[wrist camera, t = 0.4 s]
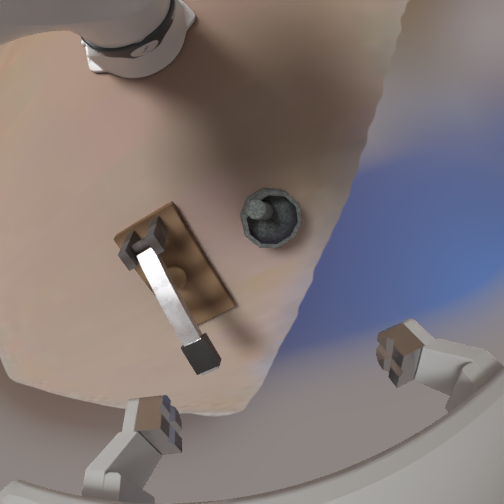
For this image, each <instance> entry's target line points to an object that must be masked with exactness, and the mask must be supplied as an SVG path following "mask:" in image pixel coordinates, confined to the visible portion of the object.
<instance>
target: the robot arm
mask: <svg viewBox="0 0 504 504" xmlns="http://www.w3.org/2000/svg"><path fill="white" fill-rule="evenodd" d="M194 20H195V14H194V12H193V11H192V10H191V9H190V8H189V7H188V6H187V5H186V4H185V3H184V2H183V1H182V0H0V45H2V44H5V43H7V42H9V41H12V40H15V39H18V38H21V37H25V36H28V35H32V34H37V33H43V32H49V31H62V30H66V31H72V32H74V33H76V34H78V35H80V36H81V38H82V40H81V44H82V46H83V47H85V49H86V54H87V60H88V64H89V68H90V70H91V71H92V72H95V73H101V72H109V73H112V74H115V75H117V76H120V77H124V78H140V77H145V76H149V75H151V74H154V73H156V72H158V71H160V70H162V69H163V68H165V67H166V66H167V65H168V64H170V63H171V62H172V61H173V60H174V59H175V57H176V56H177V55H178V53H179V52H180V50H181V48H182V46H183V43H184V40H185V35H186V32H187V30H188V29H189V27H190V26H191V25H192V24H193V22H194ZM377 340H378V342H379V343H380V344H379V346H378V348H377V352H376V356H377V360H378V362H379V365H380V366H381V367H382V369H383V370H386V371H388V372H389V378H390V380H391V381H392V382H393V384H394V385H395V386H396V388H398V387H400V386H402V385H403V384H406V383H407V382H409V381H412V380H413V379H414V380H415V381H418V382H420V383H422V384H424V385H426V386H429V387H431V388H433V389H436V390H438V391H440V392H442V393H445V394H447V395H449V396H450V398H449V400H448V402H447V404H446V407H445V409H446V410H447V411H448V413H447V414H446V415H445V416H443V417H442V418H440V419H439V420H437V421H436V422H434V423H433V424H432V425H430V426H428V427H426V428H425V429H423V430H421V431H420V432H419V433H417V434H415V435H413V436H412V437H410V438H408V439H406V440H404V441H403V442H401V443H399V444H397V445H395V446H393V447H391V448H389V449H387V450H386V451H384V452H382V453H379V454H377V455H375V456H373V457H371V458H369V459H367V460H364V461H362V462H360V463H358V464H355V465H353V466H350V467H348V468H345V469H343V470H340V471H337V472H335V473H332V474H329V475H326V476H324V477H321V478H318V479H315V480H312V481H308V482H305V483H302V484H298V485H295V486H291V487H287V488H284V489H279V490H275V491H271V492H267V493H262V494H257V495H252V496H246V497H240V498H233V499H226V500H218V501H208V502H196V503H174V504H504V366H503V365H501V364H500V363H499V362H498V361H497V360H496V359H495V358H494V357H493V356H492V355H491V354H490V353H489V352H487V351H486V350H485V349H481V348H476V347H472V346H468V345H463V344H459V343H455V342H451V341H447V340H443V339H439V338H438V339H436V340H435V339H434V338H433V337H432V336H431V335H430V334H429V333H428V332H427V331H426V330H425V329H424V328H423V327H421V326H420V325H419V324H418V323H417V322H416V321H415V320H414V319H412V318H410V319H408V320H406V321H403V322H401V323H399V324H397V325H395V326H393V327H390V328H388V329H386V330H384V331H382V332H380V333H379V334H378V339H377ZM170 402H171V400H170V399H169V398H168V396H167V395H161V396H153V397H143V398H135V399H129V401H128V402H127V407H126V412H125V417H124V423H123V429H122V432H119V433H118V434H117V435H116V436H115V437H114V438H113V440H112V441H111V442H110V443H109V444H108V445H107V446H106V447H105V449H104V450H103V451H102V452H101V453H100V454H99V455H98V457H97V458H96V459H95V460H94V461H93V462H92V463H91V464H90V465H89V467H88V468H87V469H86V472H85V478H84V484H83V490H82V496H78V495H73V494H69V493H64V492H60V491H56V490H52V489H48V488H45V487H41V486H38V485H35V484H32V483H28V482H26V481H22V480H14V481H12V482H11V483H10V484H8V485H7V486H6V487H5V488H4V489H3V490H2V491H1V492H0V504H155V501H154V497H153V496H152V495H151V494H149V493H147V492H146V491H144V490H142V489H143V487H144V485H145V484H146V482H147V481H148V479H149V477H150V476H151V474H152V472H153V471H154V469H155V467H156V465H157V464H158V462H159V460H160V459H161V457H162V455H163V454H173V453H182V438H181V437H180V436H179V435H178V434H179V432H180V431H181V430H182V423H181V418H180V415H179V412H178V411H177V409H176V408H175V407H173V406H171V405H170Z"/></svg>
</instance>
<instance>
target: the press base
mask: <svg viewBox="0 0 504 504" xmlns="http://www.w3.org/2000/svg"><path fill="white" fill-rule="evenodd" d="M114 241H115V242H116V244H117V245H118V246H119V248H120V252H119V254H118V256H119V257H120V259H121V260H122V262H123V263H124V264H125V266H126V267H127V268H128V270H129V271H130V270H132V269H135V270H136V271H137V273H138V274H139V275H140V277H141V278H142V279H143V281H144V282H145V283H146V285H147V286H148V287H149V288H150V290H151V291H152V292H153V293H154V291H153V289H152V287H151V285H150V283H149V281H148V279H147V277H146V275H145V273H144V271H143V269H142V267H141V265H140V263H139V261H138V259H137V255H139V254H141V253H143V252H144V251H146V250H148V249H150V248H152V250H153V251H154V253H155V254H156V255H158V254H160V255H161V257H162V259H163V261H164V263H165V265H166V267H167V268H168V267H170V266H178V267H180V268H182V269H183V270H184V271H185V273H186V277H187V280H186V284H185V286H184V287H183V288H182V289H180V290H179V292H180V294H181V296H182V298H183V300H184V302H185V303H186V305H187V307H188V309H189V311H190V313H191V314H192V316H193V318H194V320H195V322H196V323H197V325H198V324H200V323H202V322H204V321H206V320H209V319H211V318H213V317H215V316H217V315H219V314H221V313H223V312H225V311H227V310H229V309H231V308H233V307H235V305H234V301H233V299H232V298H231V296H230V295H229V293H228V292H227V290H226V289H225V287H224V285H223V284H222V282H221V281H220V279H219V278H218V276H217V274H216V273H215V271H214V270H213V268H212V267H211V265H210V263H209V262H208V260H207V259H206V257H205V255H204V254H203V252H202V250H201V249H200V247H199V246H198V244H197V242H196V241H195V239H194V237H193V236H192V234H191V233H190V231H189V229H188V228H187V226H186V224H185V223H184V221H183V219H182V218H181V216H180V214H179V213H178V211H177V209H176V207H175V206H174V204H173V202H170V203H168V204H166V205H165V206H163V207H161V208H160V209H158V210H156V211H154V212H153V213H151V214H149V215H148V216H146V217H144V218H143V219H141V220H139V221H138V222H136V223H134V224H133V225H131V226H130V227H128V228H126V229H125V230H123V231H122V232H120V233H118V234H117V235H116V236H115V238H114ZM154 295H155V293H154ZM155 296H156V295H155Z"/></svg>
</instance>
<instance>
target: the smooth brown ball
mask: <svg viewBox="0 0 504 504" xmlns="http://www.w3.org/2000/svg"><path fill="white" fill-rule="evenodd" d="M167 269H168V271H169V273H170V275H171V277H172V279H173V281H174V283H175V284H176V286H177V288H178V290H180V289H182V288H183V287H184V286H185V284H186V280H187V277H186V273H185V271H184V270H183V269H182V268H180V267H178V266H170V267H168V268H167Z"/></svg>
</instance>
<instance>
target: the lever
mask: <svg viewBox="0 0 504 504" xmlns="http://www.w3.org/2000/svg"><path fill="white" fill-rule="evenodd" d="M137 259H138V261H139V263H140V265H141V267H142V269H143V271H144V273H145V275H146V277H147V279H148V281H149V283H150V285H151V287H152V289H153V291H154V293H155V295H156V297H157V299H158V301H159V303H160V305H161V307H162V308H163V310H164V312H165V314H166V316H167V318H168V319H169V321H170V323H171V325H172V327H173V328H174V330H175V332H176V334H177V335H178V337H179V339H180V341H181V342H182V344H183V346H182V347H181V349H182V351H183V353H184V354H185V356H186V358H187V359H188V361H189V363H190V364H191V366H192V367H193V369H194V371H195V372H196V374H197V375H198V374H201V375H204V374H207V373H209V372H212V371H214V370H216V369H219V366H220V362H221V358H220V356H219V354H218V353H217V351H216V349H215V348H214V346H213V344H212V342H211V341H210V339H209V337H208V336H207V334H206V333H204V334H202V332H201V331H200V329H199V327H198V325H197V323H196V322H195V320H194V318H193V316H192V314H191V313H190V311H189V309H188V307H187V305H186V303H185V302H184V300H183V298H182V296H181V294H180V292H179V290H178V288H177V286H176V284H175V283H174V281H173V279H172V277H171V275H170V273H169V271H168V269H167V267H166V265H165V263H164V261H163V259H162V257H161V255H160V254H158V255H156V254H155V253H154V251H153V250H152V248H150V249H148V250H146V251H144V252H143V253H141V254H139V255H137Z"/></svg>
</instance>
